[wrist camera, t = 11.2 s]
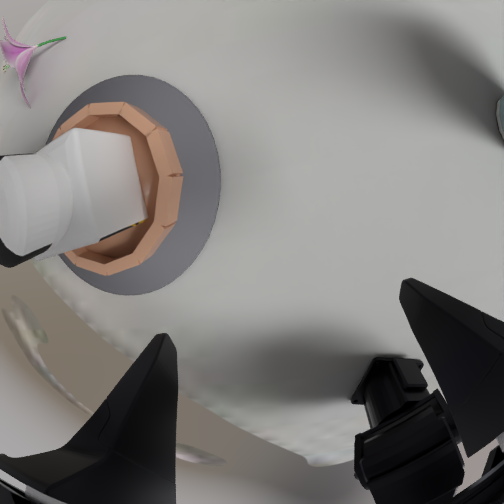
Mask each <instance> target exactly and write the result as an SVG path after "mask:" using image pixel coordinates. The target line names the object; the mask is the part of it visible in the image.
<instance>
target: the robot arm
mask: <svg viewBox="0 0 504 504" xmlns="http://www.w3.org/2000/svg"><path fill="white" fill-rule="evenodd" d="M399 300H400V303H401V305H402V308H403V310H404V312H405V315H406V317H407V319H408V322H409V324H410V327H411V329H412V331H413V333H414V335H415V337H416V339H417V341H418V343H419V345H420V347H421V349H422V351H423V353H424V355H425V357H426V359H427V361H428V363H429V365H430V367H431V369H432V371H433V373H434V375H435V377H436V379H437V381H438V384H439V386H440V388H441V390H442V392H443V395H444V397H445V399H446V401H445V399H444V398H443V396H442V395H441V393H440V391H439V390H438V388H437V389H436V390H435V391H433V393H432V394H429V392H428V390H427V386H428V384H427V382H426V380H425V378H424V377H423V375H422V373H421V369H422V368H423V366H424V364H423V362H422V361H419V360H410V359H391V358H380V357H378V358H375V359H373V361H372V363H371V365H370V366H369V368H368V370H367V372H366V374H365V376H364V377H363V379H362V381H361V383H360V384H359V386H358V388H357V390H356V391H355V393H354V395H353V396H352V398H351V403H352V404H360V405H364V406H365V410H366V413H367V417H368V421H369V424H370V428H371V429H369V430H367V431H365V432H363V433H359V434H357V435H355V443H354V447H355V450H354V470H355V473H354V476H355V478H356V479H357V480H359V481H360V483H361V484H362V486H363V487H364V488H365V489H366V490H370V491H371V493H372V495H373V498H374V500H375V503H376V504H504V322H503V321H500V320H498V319H496V318H494V317H492V316H490V315H488V314H486V313H484V312H481V311H480V310H478V309H476V308H474V307H472V306H470V305H468V304H466V303H464V302H462V301H460V300H458V299H456V298H454V297H452V296H450V295H448V294H446V293H444V292H442V291H439V290H437V289H435V288H433V287H431V286H429V285H427V284H425V283H422V282H420V281H418V280H416V279H414V278H408V279H405V280H403V281H402V283H401V289H400V295H399ZM377 362H378V363H377ZM177 401H178V371H177V351H176V347H175V345H174V344H173V342H172V340H171V339H170V337H169V335H168V334H167V333H162V334H157V335H156V336H155V337H154V338H153V339H152V340H151V342H150V343H149V344H148V345H147V347H146V348H145V349H144V350H143V352H142V353H141V354H140V356H139V357H138V358H137V359H136V361H135V362H134V363H133V364H132V366H131V367H130V368H129V370H128V371H127V372H126V373H125V375H124V376H123V377H122V378H121V380H120V381H119V382H118V384H117V385H116V386H115V387H114V389H113V390H112V391H111V393H110V394H109V395H108V396H107V399H105V400H104V402H103V403H102V404H101V406H100V407H99V408H98V409H97V411H96V412H95V413H94V414H93V415H92V417H91V418H90V419H89V420H88V421H87V422H86V423H85V424H84V426H83V427H82V428H81V429H80V430H79V431H78V432H77V433H76V434H75V435H74V436H73V437H72V439H71V440H70V441H69V442H68V443H67V444H65V445H64V446H63V447H61V448H59V449H56V450H53V451H49V452H45V453H40V454H35V455H31V456H26V457H20V458H11V457H8V456H7V455H5V454H0V469H1V470H3V471H4V472H6V473H8V474H9V475H11V476H12V477H14V478H15V479H17V480H19V481H20V482H22V483H24V484H26V491H25V492H24V491H22V490H20V489H19V488H17V487H15V486H13V485H11V484H9V483H7V482H6V481H4V480H2V479H1V478H0V504H176V484H175V458H176V421H177V420H176V419H177ZM446 402H447V403H446ZM495 438H496V439H497V441H498V443H499V445H498V446H497V447H495V448H494V449H493V450H492V451H491V452H490V453H489V456H488V460H487V463H486V466H485V468H484V471H483V474H482V477H481V478H480V479H479V480H477V481H476V482H475V483H473V484H472V485H470V486H469V487H468V488H466V489H464V490H463V491H462V492H460V493H458V494H457V495H456V491H457V489H458V486H460V485H462V483H463V478H464V473H465V472H464V461H463V459H462V456H461V453H460V451H459V448H458V446H457V444H459V443H460V442H462V443H463V446H464V449H465V451H466V455H467V457H468V458H469V457H470V456H472V455H473V454H475V453H476V452H478V451H479V450H480V449H482V448H483V447H485V446H486V445H487V444H489V443H490V442H491V441H493V440H494V439H495Z"/></svg>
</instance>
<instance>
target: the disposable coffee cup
mask: <svg viewBox="0 0 504 504" xmlns="http://www.w3.org/2000/svg"><path fill="white" fill-rule="evenodd" d="M496 116H497V121H498V126H499V131H500V133H501V135H502V137H503V139H504V95H503V96H502V97H501V99H500V100H499V101H498V102H497V112H496Z"/></svg>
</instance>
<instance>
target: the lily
mask: <svg viewBox="0 0 504 504" xmlns="http://www.w3.org/2000/svg"><path fill="white" fill-rule="evenodd" d="M3 25H4V30H5V33H6V36H7V38H8V39H6V36H4V39H5V40H0V47H1V50H2V53H3V56H4V58H5V60H6V62H7V63H8V64H7V66H9V67H10V66H11V67H12V68H16V71H17V74H18V77H19V79H20V81H21V82H20V85H21V92H22V95H23V97H24V99H25V101H26V103H27V104H28V106H29V103H28V101H27V99H26V97H25V94H24V92H23V88H22V85H23V87H24V84H23V79H24V75H25V72H26V69H27V67H28V64H29V61H30V59H31V56H32V54H33V51H34V50H35V49H36V48H37V47H39V46H42V45H44V44H47V43H50V42H54V41H58V40H62V39H66V37H61V38H57V39H53V40H49V41H46V42H43V43H41V44H38V45H36V46H28V45H24V44H21V43H19V42H16V41H15V40H13V39H12V38H11V36H10V35H9V33H8V31H7V28H6V26H5V22H4V18H3ZM5 66H6V65H5ZM5 66H3V67H5ZM7 66H6V67H7ZM6 67H5V68H6ZM9 67H8V68H9ZM5 68H4V69H5ZM4 69H3V70H4ZM6 70H7V69H6ZM6 70H5V72H6ZM5 72H4V73H5ZM24 90H25V88H24ZM29 107H30V106H29Z"/></svg>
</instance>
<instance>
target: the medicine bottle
mask: <svg viewBox="0 0 504 504" xmlns="http://www.w3.org/2000/svg"><path fill="white" fill-rule="evenodd" d="M147 219H148V214H147V210H146V206H145V202H144V198H143V194H142V189H141V185H140V181H139V176H138V172H137V167H136V162H135V157H134V152H133V147H132V142H131V138H130V136H128V135H123V134H117V133H111V132H104V131H97V130H90V129H82V128H73V129H70V130H69V131H67V132H66V133H64V134H62V135H61V136H59V137H58V138H56V139H55V140H53V141H52V142H50V143H49V144H47V145H46V146H45V147H43V148H42V149H40V150H39V151H38V152H36V153H34V154H17V155H4V156H0V264H1V265H3V266H5V267H8V268H9V267H10V268H11V267H14V266H16V265H18V264H20V263H22V262H25V261H27V260H29V259H31V258H33V257H34V259H35V260H37V261H38V260H42V259H45V258H48V257H52V256H55V255H58V254H61V253H64V252H68V251H71V250H74V249H78V248H81V247H84V246H88V245H91V244H95V243H98V242H100V241H102V240H104V239H106V238H109V237H111V236H113V235H115V234H117V233H120V232H122V231H124V230H126V229H129V228H131V227H133V226H136V225H138V224H140V223H143V222H145V221H146V220H147Z"/></svg>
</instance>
